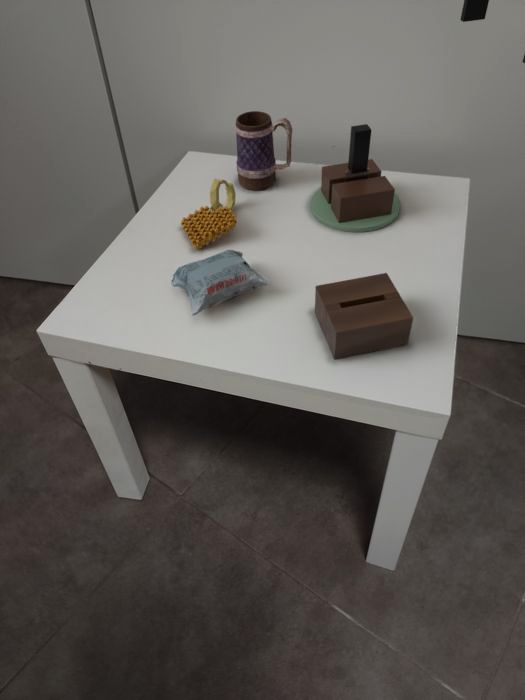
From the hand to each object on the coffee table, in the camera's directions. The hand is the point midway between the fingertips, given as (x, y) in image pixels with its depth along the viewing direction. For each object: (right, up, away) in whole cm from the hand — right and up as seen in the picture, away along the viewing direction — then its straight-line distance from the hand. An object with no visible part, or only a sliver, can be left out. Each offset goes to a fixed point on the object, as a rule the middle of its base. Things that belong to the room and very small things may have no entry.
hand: (501, 39), depth 59 cm
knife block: (-13, -31, +14) cm, 36 cm away
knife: (-11, -9, +33) cm, 36 cm away
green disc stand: (-10, -9, +34) cm, 36 cm away
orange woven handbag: (-34, -13, +32) cm, 48 cm away
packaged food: (-32, -26, +20) cm, 46 cm away
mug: (-26, -3, +40) cm, 48 cm away
